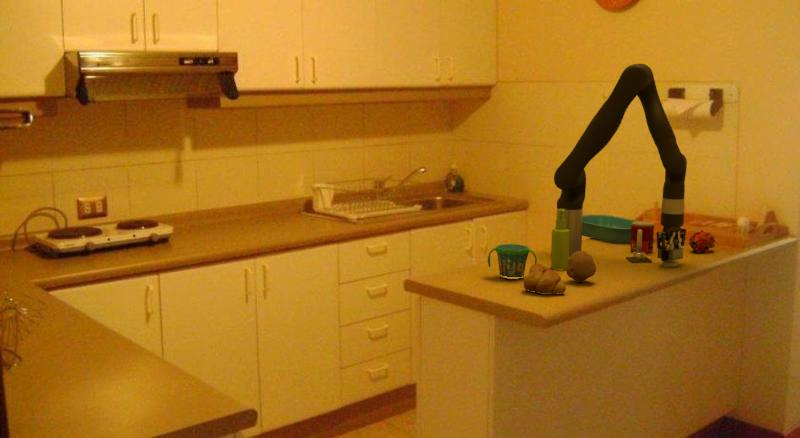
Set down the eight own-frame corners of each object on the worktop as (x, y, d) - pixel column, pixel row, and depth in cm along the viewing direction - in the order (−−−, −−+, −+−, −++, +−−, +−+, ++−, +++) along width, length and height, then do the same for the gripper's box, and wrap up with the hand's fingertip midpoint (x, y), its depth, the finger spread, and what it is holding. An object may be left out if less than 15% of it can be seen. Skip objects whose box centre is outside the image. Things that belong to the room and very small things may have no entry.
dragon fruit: (712, 254, 317) (694, 263, 310) (695, 238, 321) (677, 247, 314) (724, 238, 312) (706, 247, 305) (707, 222, 316) (688, 231, 309)
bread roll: (571, 293, 253) (572, 267, 252) (553, 299, 246) (554, 272, 245) (535, 286, 262) (535, 261, 260) (517, 292, 254) (517, 266, 253)
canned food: (653, 254, 309) (654, 225, 307) (630, 254, 310) (632, 224, 309) (651, 250, 316) (652, 221, 314) (629, 250, 318) (630, 221, 316)
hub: (665, 267, 287) (666, 244, 286) (660, 264, 292) (661, 241, 291) (680, 267, 287) (681, 244, 286) (674, 264, 292) (676, 241, 291)
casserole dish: (665, 242, 335) (666, 224, 334) (624, 247, 324) (624, 229, 323) (599, 228, 366) (600, 212, 365) (559, 233, 355) (560, 216, 354)
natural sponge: (601, 282, 266) (602, 251, 265) (585, 287, 260) (586, 255, 258) (577, 277, 273) (578, 247, 271) (561, 282, 266) (561, 251, 265)
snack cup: (538, 275, 276) (539, 245, 274) (533, 283, 266) (534, 251, 264) (491, 272, 281) (491, 242, 279) (484, 279, 271) (485, 248, 269)
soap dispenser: (571, 266, 290) (572, 208, 287) (566, 270, 284) (567, 211, 280) (554, 264, 292) (555, 207, 289) (549, 268, 286) (550, 210, 283)
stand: (631, 263, 295) (633, 231, 293) (625, 258, 301) (626, 228, 300) (651, 262, 295) (653, 231, 293) (645, 258, 302) (646, 228, 300)
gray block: (672, 260, 286) (673, 250, 285) (657, 257, 291) (657, 247, 290) (682, 258, 290) (683, 248, 289) (667, 255, 294) (668, 245, 294)
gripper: (669, 214, 280) (667, 264, 283) (694, 210, 289) (691, 259, 292) (650, 212, 286) (648, 260, 289) (675, 208, 295) (672, 255, 297)
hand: (670, 259), depth 290 cm, fingers closed on gray block, 6 cm apart
